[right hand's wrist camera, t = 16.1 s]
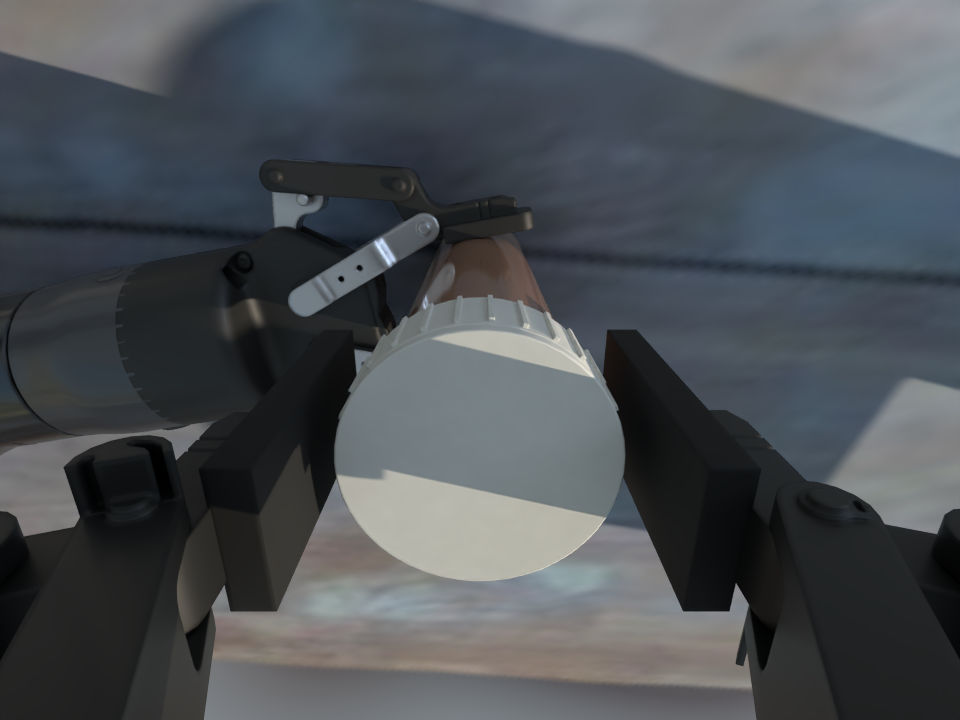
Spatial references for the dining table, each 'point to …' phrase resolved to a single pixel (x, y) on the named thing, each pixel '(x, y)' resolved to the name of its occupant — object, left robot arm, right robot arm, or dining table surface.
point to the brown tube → (480, 274)
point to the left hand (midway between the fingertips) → (538, 281)
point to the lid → (479, 441)
